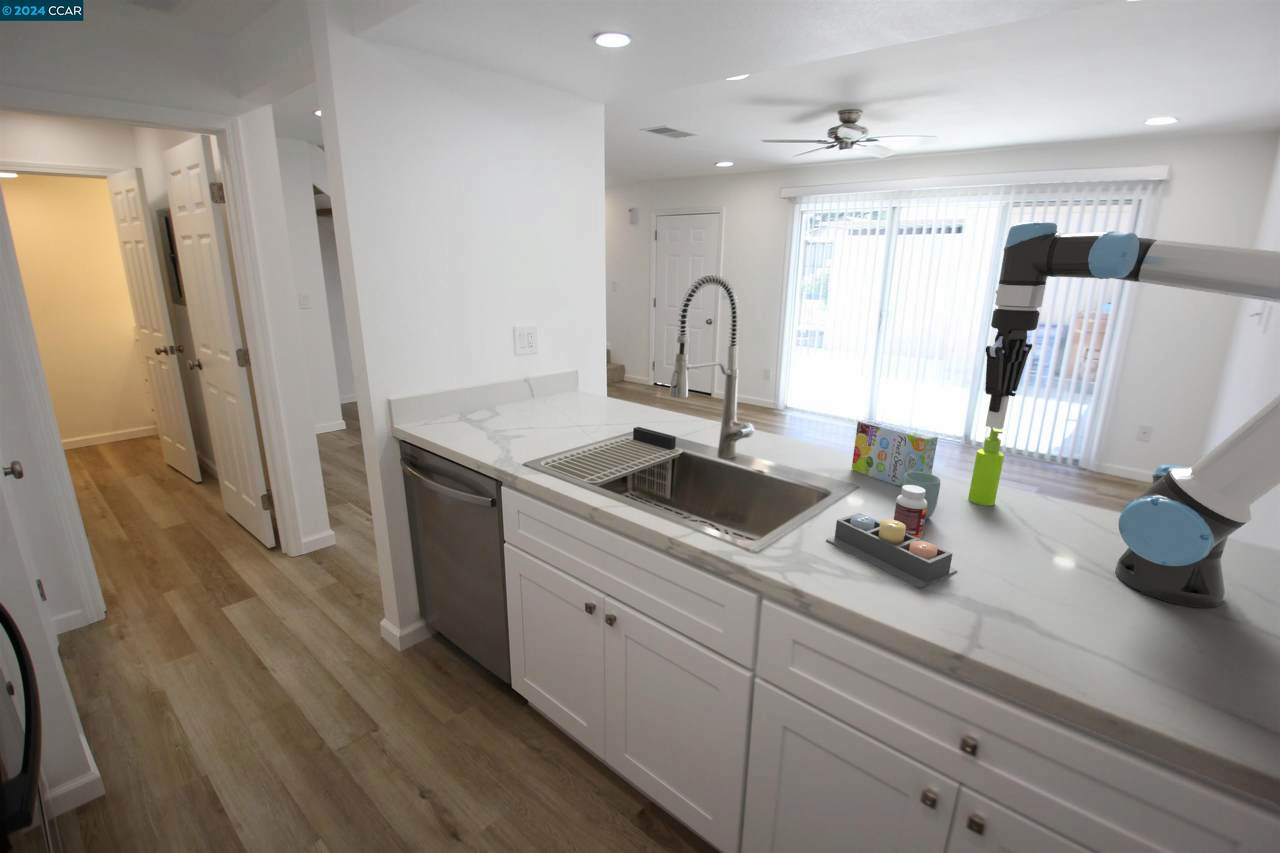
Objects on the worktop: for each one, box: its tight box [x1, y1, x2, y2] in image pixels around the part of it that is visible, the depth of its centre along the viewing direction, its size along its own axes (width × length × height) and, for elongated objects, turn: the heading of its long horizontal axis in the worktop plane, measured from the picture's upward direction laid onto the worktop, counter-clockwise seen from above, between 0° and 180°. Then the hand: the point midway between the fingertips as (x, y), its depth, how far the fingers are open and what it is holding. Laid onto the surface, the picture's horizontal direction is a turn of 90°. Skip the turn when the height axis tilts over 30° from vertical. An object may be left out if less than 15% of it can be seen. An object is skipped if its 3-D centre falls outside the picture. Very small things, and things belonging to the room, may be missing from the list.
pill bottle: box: [893, 485, 927, 540], centre depth 126 cm, size 6×6×11 cm
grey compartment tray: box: [825, 512, 958, 589], centre depth 118 cm, size 22×12×4 cm, turn 32°
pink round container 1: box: [909, 540, 938, 560], centre depth 112 cm, size 5×5×5 cm
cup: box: [900, 472, 941, 520], centre depth 136 cm, size 8×8×10 cm
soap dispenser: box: [967, 427, 1005, 507], centre depth 144 cm, size 6×7×20 cm
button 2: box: [878, 518, 906, 545], centre depth 117 cm, size 5×5×5 cm
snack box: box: [851, 419, 939, 488], centre depth 159 cm, size 21×6×15 cm, turn 34°
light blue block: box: [850, 514, 876, 531], centre depth 123 cm, size 5×5×5 cm
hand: (994, 426), depth 116 cm, fingers closed
